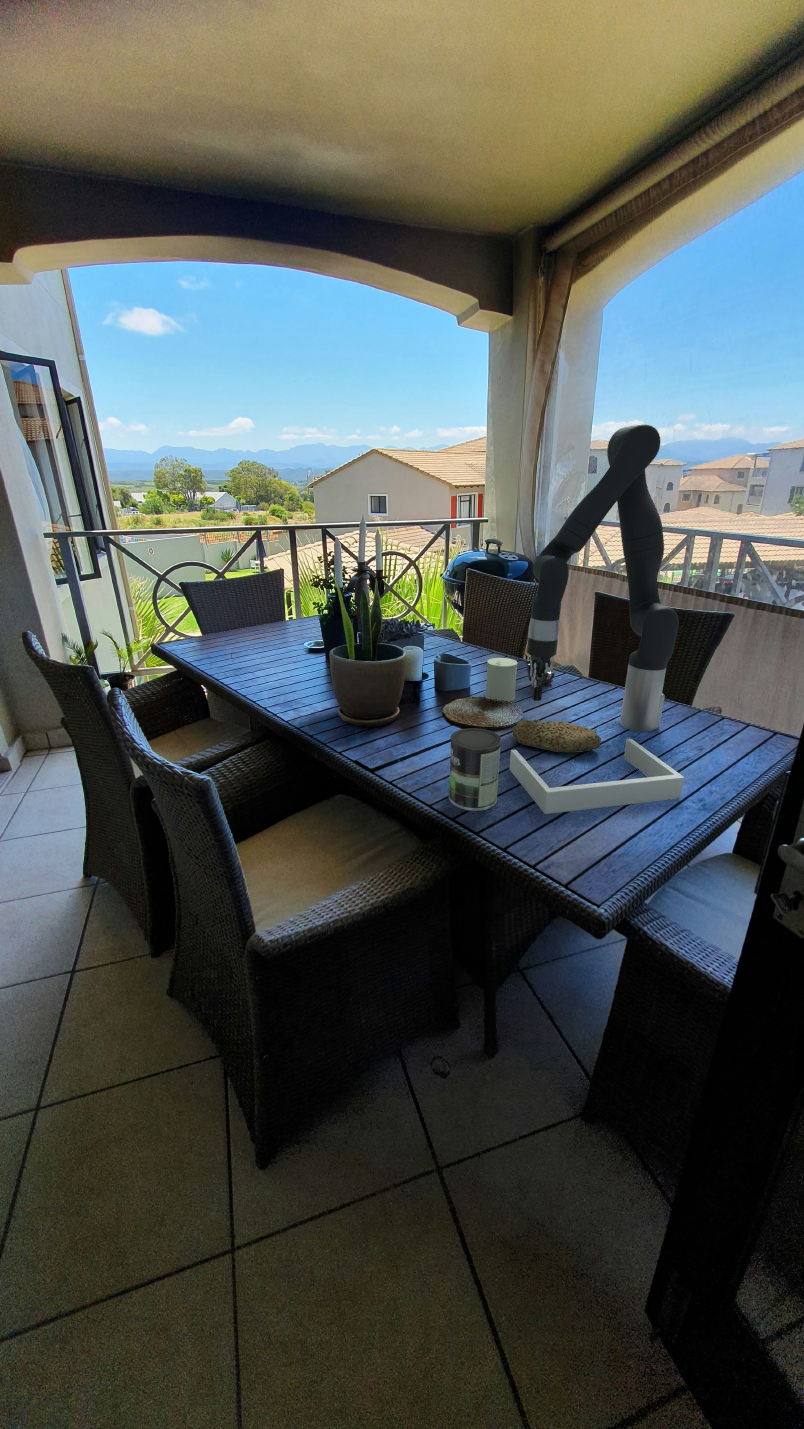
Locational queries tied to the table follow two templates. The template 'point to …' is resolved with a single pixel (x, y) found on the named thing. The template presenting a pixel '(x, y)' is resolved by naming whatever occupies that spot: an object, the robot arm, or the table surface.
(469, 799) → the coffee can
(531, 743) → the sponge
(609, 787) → the box
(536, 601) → the robot arm
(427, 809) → the table surface
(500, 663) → the pillar candle
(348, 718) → the potted plant
